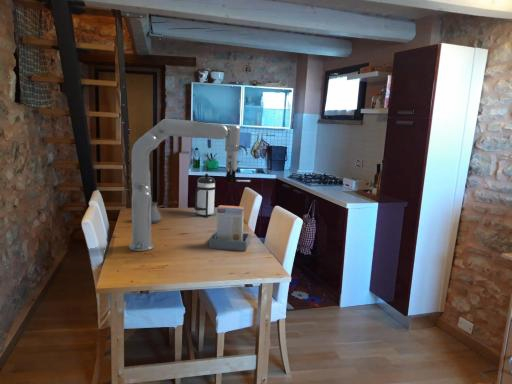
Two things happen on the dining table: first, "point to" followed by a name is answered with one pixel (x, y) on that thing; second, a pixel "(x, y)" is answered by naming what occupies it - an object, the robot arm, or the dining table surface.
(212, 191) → the coffee press
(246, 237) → the tray
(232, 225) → the cracker box
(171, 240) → the dining table surface
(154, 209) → the coffee pot
